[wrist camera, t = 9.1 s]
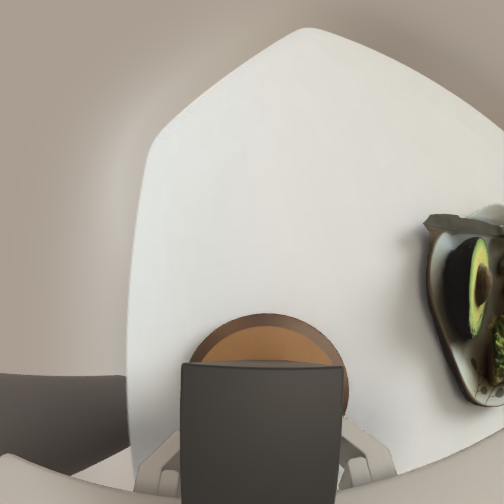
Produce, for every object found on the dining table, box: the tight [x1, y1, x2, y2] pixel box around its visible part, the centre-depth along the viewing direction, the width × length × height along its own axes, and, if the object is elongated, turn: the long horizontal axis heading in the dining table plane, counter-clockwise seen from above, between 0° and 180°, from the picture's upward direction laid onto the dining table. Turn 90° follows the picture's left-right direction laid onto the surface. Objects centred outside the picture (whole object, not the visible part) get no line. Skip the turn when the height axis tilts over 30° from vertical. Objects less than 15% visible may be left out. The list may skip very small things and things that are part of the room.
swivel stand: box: [189, 313, 349, 417], centre depth 18 cm, size 11×11×1 cm
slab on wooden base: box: [180, 326, 344, 504], centre depth 10 cm, size 9×9×15 cm
